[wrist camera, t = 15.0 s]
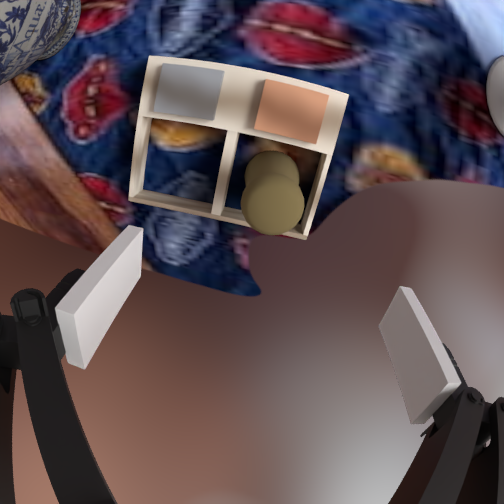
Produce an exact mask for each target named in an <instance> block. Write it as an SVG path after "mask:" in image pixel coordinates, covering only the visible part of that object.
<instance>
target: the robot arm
mask: <svg viewBox="0 0 504 504" xmlns="http://www.w3.org/2000/svg"><path fill="white" fill-rule="evenodd" d="M142 240H143V228H139V227H135V226H131V225H129V226H128V227H127V228H126V229H125V230H124V231H123V232H122V233H121V234H120V235H119V236H118V237H117V238H116V239H115V240H114V241H113V242H112V243H111V244H110V245H109V246H108V248H107V249H106V250H105V251H104V252H103V253H102V254H101V255H100V256H99V257H98V258H97V260H96V261H95V262H94V263H93V264H92V265H91V266H90V267H89V268H88V270H87V271H84V270H81V269H75V270H74V271H72V272H70V273H68V274H67V275H66V276H65V277H64V278H63V279H62V280H61V282H59V283H58V285H57V286H56V288H54V289H53V290H52V291H51V292H50V293H49V294H48V296H47V297H46V298H45V296H44V294H43V293H42V292H41V291H39V290H36V289H33V288H31V289H24V290H21V291H19V292H17V293H16V294H14V296H13V297H12V299H11V302H10V305H11V308H12V312H13V315H14V316H7V315H1V313H0V504H16V503H15V493H14V484H13V483H14V482H13V464H12V420H13V401H14V389H15V379H16V370H17V369H19V370H21V371H22V376H23V383H24V388H25V393H26V398H27V403H28V407H29V412H30V416H31V420H32V424H33V428H34V432H35V435H36V439H37V443H38V446H39V449H40V453H41V455H42V459H43V461H44V465H45V468H46V471H47V473H48V476H49V479H50V482H51V484H52V487H53V489H54V492H55V495H56V497H57V499H58V502H59V504H117V502H116V500H115V498H114V496H113V494H112V493H111V491H110V489H109V487H108V485H107V483H106V481H105V479H104V477H103V475H102V472H101V470H100V468H99V466H98V464H97V462H96V459H95V457H94V455H93V453H92V450H91V448H90V445H89V443H88V441H87V438H86V436H85V433H84V431H83V428H82V425H81V423H80V420H79V418H78V415H77V412H76V409H75V406H74V403H73V400H72V397H71V394H70V391H69V388H68V385H67V382H66V378H65V374H64V371H63V367H62V364H61V359H62V357H63V356H64V354H66V357H67V361H68V363H69V364H72V365H75V366H77V367H80V368H82V369H85V368H86V367H87V365H88V363H89V361H90V359H91V358H92V356H93V354H94V352H95V351H96V349H97V347H98V345H99V344H100V342H101V340H102V338H103V337H104V335H105V333H106V332H107V330H108V328H109V327H110V325H111V323H112V321H113V320H114V318H115V317H116V315H117V313H118V312H119V310H120V308H121V307H122V305H123V303H124V302H125V300H126V299H127V297H128V295H129V294H130V292H131V291H132V289H133V288H134V286H135V284H136V283H137V281H138V280H139V278H140V277H141V258H142ZM379 329H380V331H381V334H382V337H383V340H384V342H385V345H386V348H387V351H388V354H389V356H390V359H391V362H392V365H393V368H394V371H395V374H396V377H397V380H398V383H399V387H400V390H401V392H402V396H403V399H404V402H405V406H406V409H407V412H408V415H409V419H410V423H411V424H424V423H425V422H426V421H427V420H428V419H429V418H430V417H431V416H432V415H433V418H434V422H433V423H432V424H431V425H430V426H429V427H428V428H427V429H426V430H425V431H424V432H423V433H422V434H421V437H422V436H423V435H425V434H426V436H425V438H424V440H423V442H422V444H421V446H420V448H419V450H418V452H417V454H416V456H415V458H414V460H413V462H412V464H411V466H410V468H409V469H408V471H407V473H406V475H405V476H404V478H403V480H402V482H401V484H400V485H399V487H398V489H397V490H396V492H395V494H394V495H393V497H392V498H391V500H390V502H389V503H388V504H504V398H503V397H499V398H498V399H497V400H496V401H495V402H494V403H493V404H491V403H488V402H485V401H484V398H483V396H482V394H481V393H480V392H479V391H478V390H476V389H475V388H473V387H468V386H467V384H466V382H465V380H464V378H463V376H462V373H461V372H460V369H459V367H457V363H456V361H455V360H454V357H453V356H452V354H451V352H450V350H449V349H448V348H447V347H446V346H445V344H443V343H442V342H441V341H440V339H439V337H438V335H437V333H436V331H435V329H434V327H433V326H432V324H431V322H430V320H429V318H428V317H427V315H426V313H425V311H424V310H423V308H422V306H421V304H420V303H419V301H418V299H417V297H416V296H415V294H414V292H413V290H412V289H411V288H407V287H402V286H400V287H399V289H398V291H397V292H396V294H395V296H394V298H393V300H392V302H391V304H390V306H389V308H388V310H387V312H386V313H385V315H384V317H383V319H382V321H381V322H380V324H379ZM489 439H491V441H490V444H489V446H488V447H486V442H487V441H488V440H489Z"/></svg>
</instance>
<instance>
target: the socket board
mask: <svg viewBox="0 0 504 504" xmlns="http://www.w3.org/2000/svg"><path fill="white" fill-rule="evenodd" d="M348 96H349V94H346V93H343V92H339V91H336V90H333V89H330V88H326V87H323V86H320V85H316V84H313V83H309V82H305V81H301V80H298V79H294V78H290V77H286V76H282V75H277V74H273V73H268V72H264V71H259V70H254V69H249V68H244V67H238V66H233V65H227V64H220V63H214V62H207V61H199V60H191V59H182V58H172V57H161V56H149V59H148V64H147V69H146V74H145V79H144V84H143V89H142V95H141V101H140V107H139V113H138V120H137V126H136V134H135V141H134V149H133V158H132V167H131V177H130V188H129V201H133V202H137V203H142V204H147V205H152V206H157V207H161V208H166V209H171V210H176V211H180V212H185V213H190V214H194V215H199V216H203V217H208V218H212V219H217V220H221V221H226V222H230V223H235V224H239V225H244V226H248V227H251V226H250V225H249V224H248V223H247V222H246V220H245V218H244V216H243V214H242V210H238V209H233V208H229V207H224V205H225V201H226V196H227V191H228V186H229V181H230V176H231V172H232V167H233V162H234V157H235V153H236V148H237V144H238V139H239V135H240V133H244V134H249V135H253V136H258V137H262V138H267V139H271V140H275V141H279V142H283V143H287V144H291V145H295V146H299V147H303V148H306V149H310V150H314V151H317V152H321V153H322V154H321V157H320V161H319V164H318V168H317V171H316V175H315V178H314V182H313V185H312V189H311V192H310V195H309V199H308V202H307V206H306V209H305V212H304V215H303V219H302V222H301V224H298V223H297V225H296V226H295V227H293V228H292V229H291V230H290V231H288V232H285V233H283V235H287V236H291V237H295V238H300V239H304V240H306V239H307V236H308V233H309V230H310V226H311V223H312V220H313V217H314V214H315V211H316V207H317V204H318V201H319V198H320V194H321V191H322V188H323V184H324V181H325V178H326V174H327V171H328V168H329V164H330V161H331V157H332V154H333V150H334V147H335V143H336V140H337V136H338V133H339V129H340V126H341V122H342V118H343V115H344V111H345V107H346V103H347V100H348ZM152 118H159V119H166V120H173V121H179V122H186V123H192V124H198V125H203V126H209V127H214V128H219V129H225V130H228V131H227V136H226V140H225V145H224V150H223V155H222V160H221V165H220V170H219V175H218V180H217V185H216V190H215V195H214V201H213V204H210V203H206V202H201V201H197V200H192V199H187V198H182V197H177V196H173V195H168V194H163V193H158V192H153V191H148V190H143V181H144V172H145V164H146V156H147V148H148V141H149V134H150V128H151V121H152Z"/></svg>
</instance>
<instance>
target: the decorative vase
mask: <svg viewBox="0 0 504 504" xmlns="http://www.w3.org/2000/svg"><path fill="white" fill-rule="evenodd" d="M80 13H81V2H80V0H0V85H1V84H3V83H5V82H7V81H8V80H10V79H12V78H13V77H15V76H16V75H18V74H19V73H21V72H22V71H24V70H25V69H26V68H28V67H29V66H30V65H31V64H32V63H34V62H35V61H36V60H42V59H47V58H49V57H51V56H53V55H55V54H56V53H57V52H59V51H60V50H61V49H62V48H63V47H64V46H65V45H66V44H67V43H68V41H69V40H70V39H71V37H72V36H73V34H74V32H75V30H76V28H77V25H78V21H79V18H80Z"/></svg>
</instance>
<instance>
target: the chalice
mask: <svg viewBox="0 0 504 504" xmlns="http://www.w3.org/2000/svg"><path fill="white" fill-rule="evenodd" d="M486 95H487V103H488V107H489V111H490V114H491V117H492V119H493V121H494V124H495V125H496V127H497V128H498V130H499V131H500V133H501V134H502V135H503V136H504V56H501V57H500V58H498V59H497V60H495V62H494V63H493V64H492V66H491V68H490V70H489V73H488V77H487V82H486Z"/></svg>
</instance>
